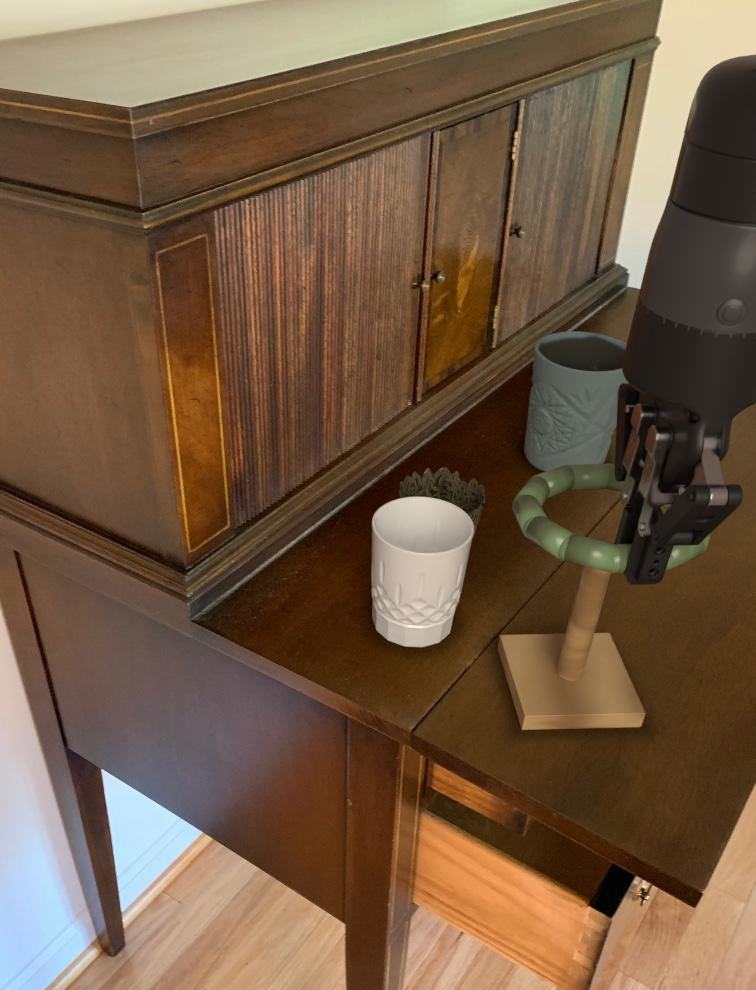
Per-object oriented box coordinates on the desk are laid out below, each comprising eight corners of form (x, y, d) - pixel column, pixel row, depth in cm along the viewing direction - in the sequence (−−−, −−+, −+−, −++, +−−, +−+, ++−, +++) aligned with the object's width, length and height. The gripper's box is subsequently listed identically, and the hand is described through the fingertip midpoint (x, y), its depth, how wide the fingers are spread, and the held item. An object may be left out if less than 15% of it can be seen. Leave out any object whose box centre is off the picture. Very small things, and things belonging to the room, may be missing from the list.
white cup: (346, 613, 78) (351, 516, 72) (417, 581, 82) (428, 485, 75) (406, 666, 73) (417, 566, 67) (478, 629, 77) (495, 531, 70)
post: (605, 646, 75) (642, 519, 67) (641, 727, 68) (687, 597, 60) (497, 648, 75) (521, 521, 67) (521, 730, 68) (551, 599, 60)
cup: (491, 564, 84) (503, 490, 78) (439, 600, 80) (449, 524, 74) (428, 530, 88) (436, 457, 83) (376, 562, 84) (381, 488, 79)
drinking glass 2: (513, 472, 96) (532, 365, 88) (519, 427, 104) (537, 324, 96) (613, 485, 94) (641, 377, 87) (611, 438, 102) (637, 335, 94)
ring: (667, 479, 67) (673, 457, 66) (740, 574, 57) (748, 550, 56) (496, 484, 67) (499, 462, 66) (538, 581, 57) (542, 556, 55)
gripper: (857, 354, 41) (738, 641, 52) (735, 251, 52) (657, 507, 63) (694, 355, 41) (608, 643, 52) (604, 251, 52) (549, 509, 63)
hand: (635, 568), depth 57 cm, fingers closed on ring, 2 cm apart
